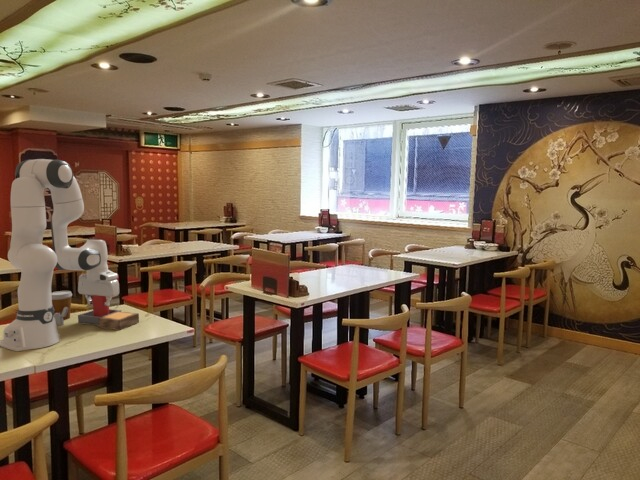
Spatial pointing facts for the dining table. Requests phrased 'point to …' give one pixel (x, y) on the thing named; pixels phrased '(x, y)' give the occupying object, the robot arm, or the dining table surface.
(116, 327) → the checker stand
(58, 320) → the lighter
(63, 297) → the disposable coffee cup
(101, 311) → the beer can
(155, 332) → the dining table surface
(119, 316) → the orange square panel
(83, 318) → the tray
